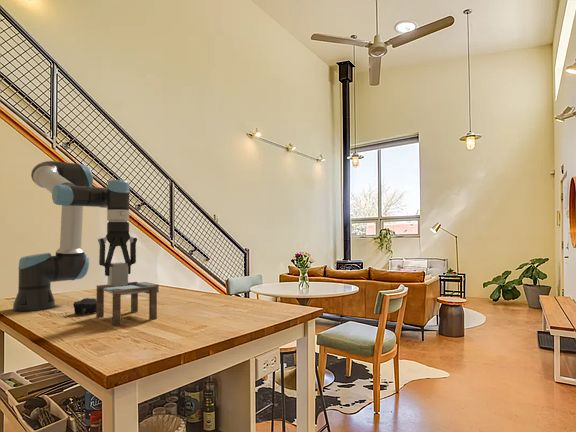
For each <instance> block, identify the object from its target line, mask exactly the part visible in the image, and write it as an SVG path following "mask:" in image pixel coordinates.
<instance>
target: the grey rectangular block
mask: <svg viewBox="0 0 576 432" xmlns="http://www.w3.org/2000/svg"><path fill="white" fill-rule="evenodd" d="M110 267H112V285H110V286H120V287H121V286H123V285H128V282H129V274H128V263H125V262H123V261H122V262H111V264H110Z"/></svg>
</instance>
